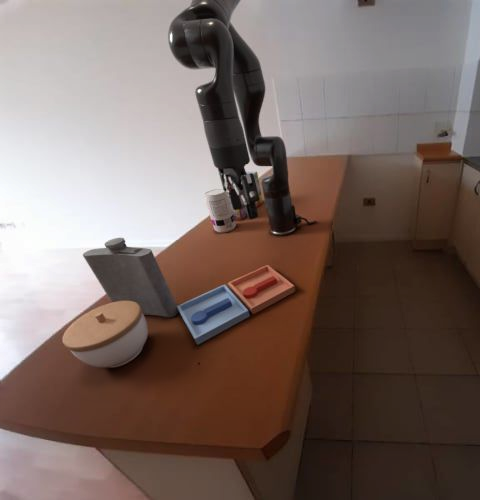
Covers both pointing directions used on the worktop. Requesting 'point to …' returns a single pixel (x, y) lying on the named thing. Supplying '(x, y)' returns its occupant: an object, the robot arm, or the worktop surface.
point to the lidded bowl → (108, 334)
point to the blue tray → (217, 321)
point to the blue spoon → (210, 311)
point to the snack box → (242, 212)
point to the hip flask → (132, 277)
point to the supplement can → (220, 210)
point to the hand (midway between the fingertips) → (245, 213)
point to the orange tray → (265, 296)
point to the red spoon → (259, 287)
